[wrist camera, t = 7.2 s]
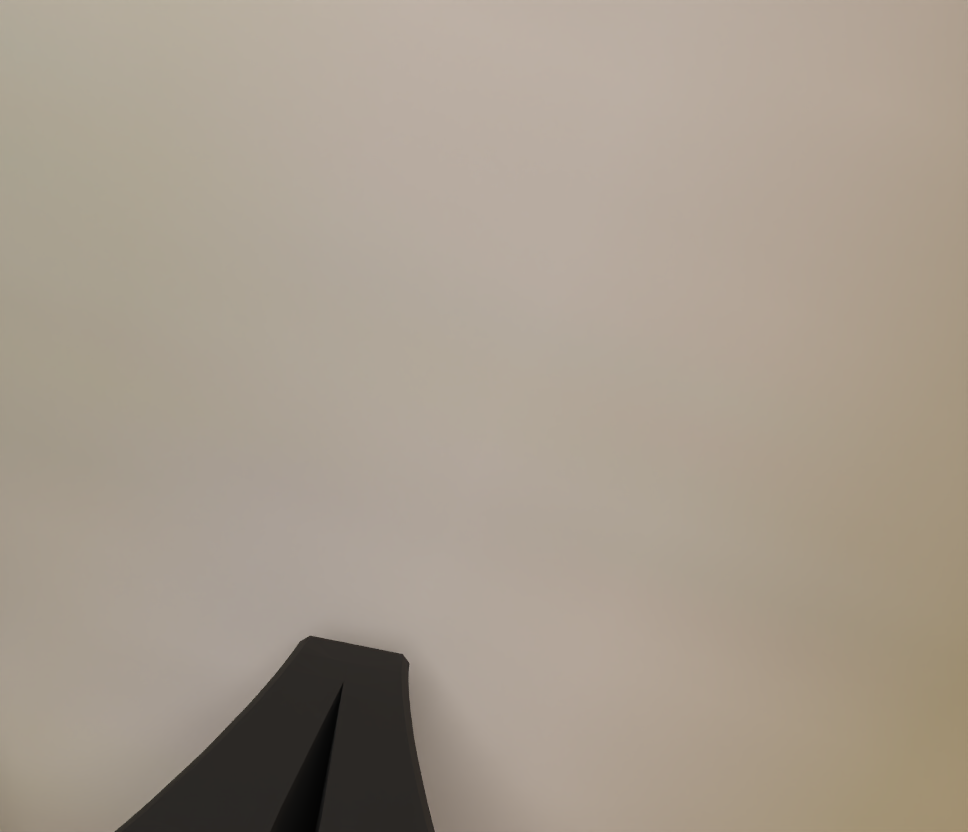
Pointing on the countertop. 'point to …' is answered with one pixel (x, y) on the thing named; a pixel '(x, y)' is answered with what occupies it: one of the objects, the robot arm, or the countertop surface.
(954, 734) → the countertop surface
